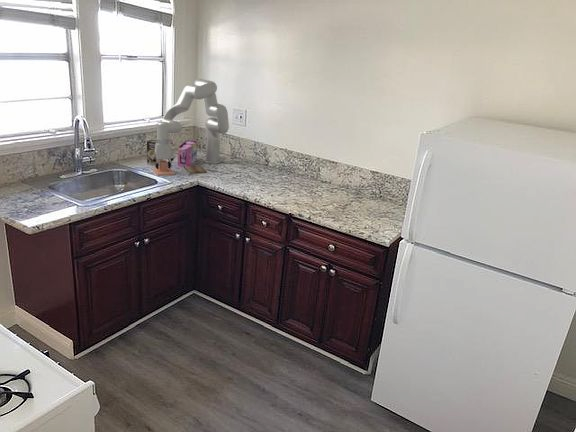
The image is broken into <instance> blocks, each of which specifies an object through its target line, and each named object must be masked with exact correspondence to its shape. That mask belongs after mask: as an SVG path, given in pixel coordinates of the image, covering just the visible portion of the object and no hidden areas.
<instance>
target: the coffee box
mask: <svg viewBox="0 0 576 432" xmlns="http://www.w3.org/2000/svg"><path fill="white" fill-rule="evenodd" d="M156 143H157V139H156V140H155V139H150V140H146V164H147V165H149V166H155V162H154V161H153V160H152V159H151V158H150V157H151V156H152V155H153V154H154V153H155V144H156ZM154 159H155V160H156V158H155V157H154ZM159 160H164V159H159ZM158 164H159V161H158ZM155 167H156V166H155Z"/></svg>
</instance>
